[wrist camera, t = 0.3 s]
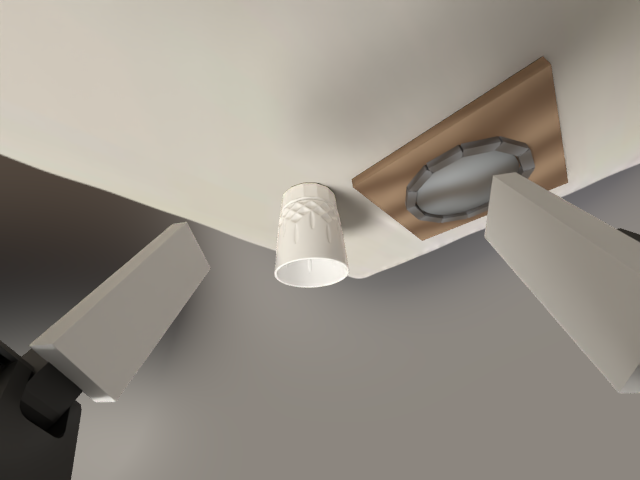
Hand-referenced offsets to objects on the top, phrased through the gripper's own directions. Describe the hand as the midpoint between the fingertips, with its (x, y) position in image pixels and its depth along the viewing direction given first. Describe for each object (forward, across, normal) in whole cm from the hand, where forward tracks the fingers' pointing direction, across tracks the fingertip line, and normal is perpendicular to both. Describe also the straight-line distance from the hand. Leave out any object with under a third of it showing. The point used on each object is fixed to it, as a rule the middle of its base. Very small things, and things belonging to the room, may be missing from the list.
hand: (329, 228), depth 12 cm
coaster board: (+21, +13, -7) cm, 26 cm away
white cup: (+20, -5, -6) cm, 22 cm away
